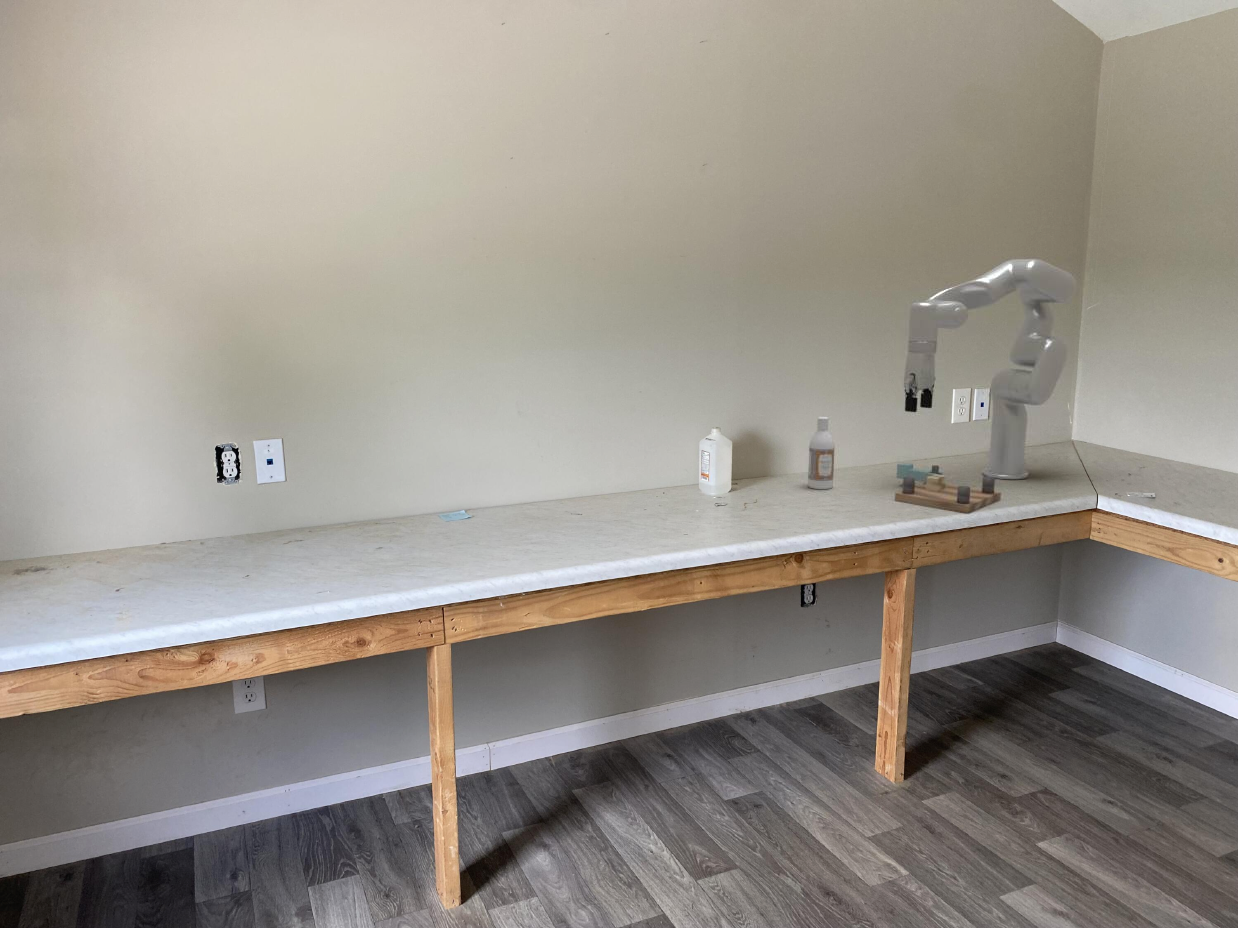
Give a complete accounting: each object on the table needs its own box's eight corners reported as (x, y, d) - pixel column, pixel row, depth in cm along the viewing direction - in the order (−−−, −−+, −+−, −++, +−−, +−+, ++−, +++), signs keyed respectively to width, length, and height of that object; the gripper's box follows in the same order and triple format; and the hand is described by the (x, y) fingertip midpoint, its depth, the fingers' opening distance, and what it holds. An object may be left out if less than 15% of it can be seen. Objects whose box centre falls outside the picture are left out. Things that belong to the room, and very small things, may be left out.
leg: (942, 481, 255) (943, 467, 254) (934, 484, 251) (935, 470, 251) (903, 475, 263) (903, 462, 262) (895, 478, 260) (896, 464, 259)
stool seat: (929, 487, 258) (931, 463, 256) (1000, 499, 244) (1002, 473, 243) (894, 500, 244) (896, 474, 242) (967, 513, 230) (969, 486, 229)
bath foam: (812, 490, 256) (815, 419, 252) (804, 484, 263) (806, 416, 258) (836, 489, 257) (839, 419, 253) (827, 483, 264) (830, 415, 259)
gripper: (922, 345, 259) (918, 405, 263) (895, 349, 247) (891, 412, 250) (948, 346, 254) (944, 407, 258) (921, 350, 242) (917, 414, 245)
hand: (918, 409), depth 254 cm, fingers open, 9 cm apart
